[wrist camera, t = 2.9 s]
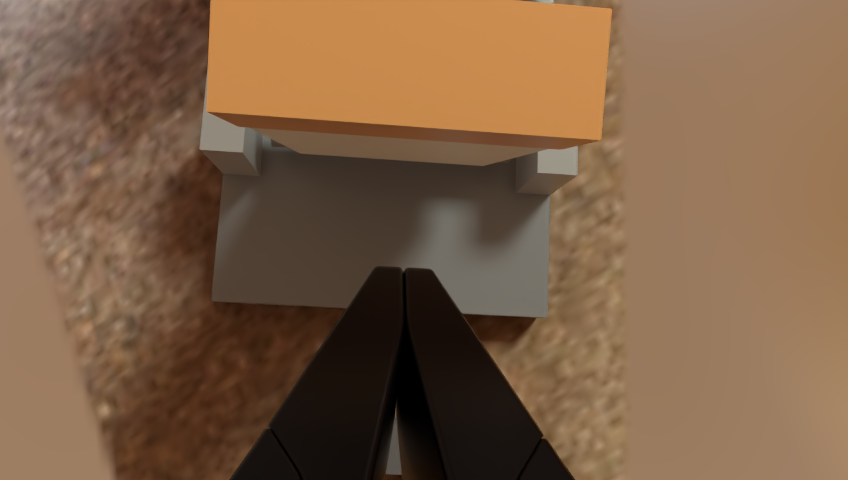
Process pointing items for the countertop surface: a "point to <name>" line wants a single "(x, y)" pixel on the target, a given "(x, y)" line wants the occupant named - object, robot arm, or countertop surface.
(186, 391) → the countertop surface
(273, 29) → the lever
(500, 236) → the grey twin-post base
